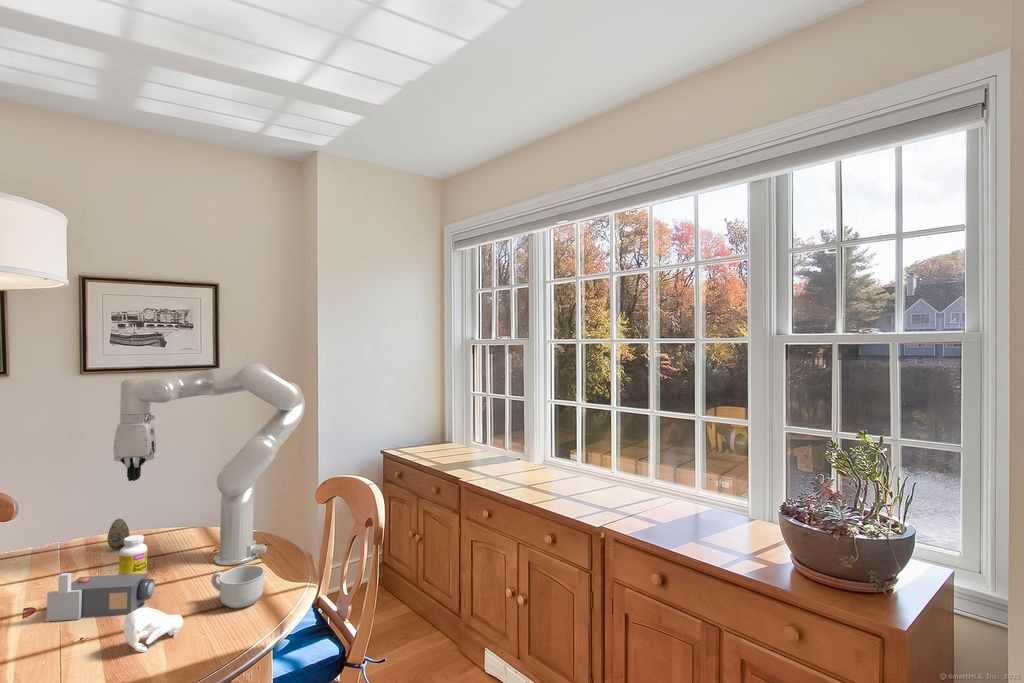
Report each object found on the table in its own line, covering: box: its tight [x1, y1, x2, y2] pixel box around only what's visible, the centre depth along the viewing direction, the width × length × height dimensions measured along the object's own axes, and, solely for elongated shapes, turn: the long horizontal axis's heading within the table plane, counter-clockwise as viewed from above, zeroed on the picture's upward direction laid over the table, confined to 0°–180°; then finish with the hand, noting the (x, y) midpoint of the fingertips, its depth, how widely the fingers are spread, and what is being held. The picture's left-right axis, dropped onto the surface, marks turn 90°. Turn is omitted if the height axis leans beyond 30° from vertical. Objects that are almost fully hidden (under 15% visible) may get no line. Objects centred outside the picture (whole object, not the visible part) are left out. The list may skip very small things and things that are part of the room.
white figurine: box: [122, 607, 184, 653], centre depth 124 cm, size 6×8×12 cm
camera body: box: [71, 573, 155, 618], centre depth 139 cm, size 18×8×8 cm, turn 100°
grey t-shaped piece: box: [46, 572, 82, 622], centre depth 133 cm, size 7×1×11 cm, turn 100°
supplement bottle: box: [118, 534, 149, 575], centre depth 155 cm, size 7×7×13 cm
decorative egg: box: [106, 518, 131, 550], centre depth 180 cm, size 6×6×10 cm
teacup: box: [210, 564, 265, 609], centre depth 144 cm, size 14×11×8 cm
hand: (133, 479), depth 164 cm, fingers closed
